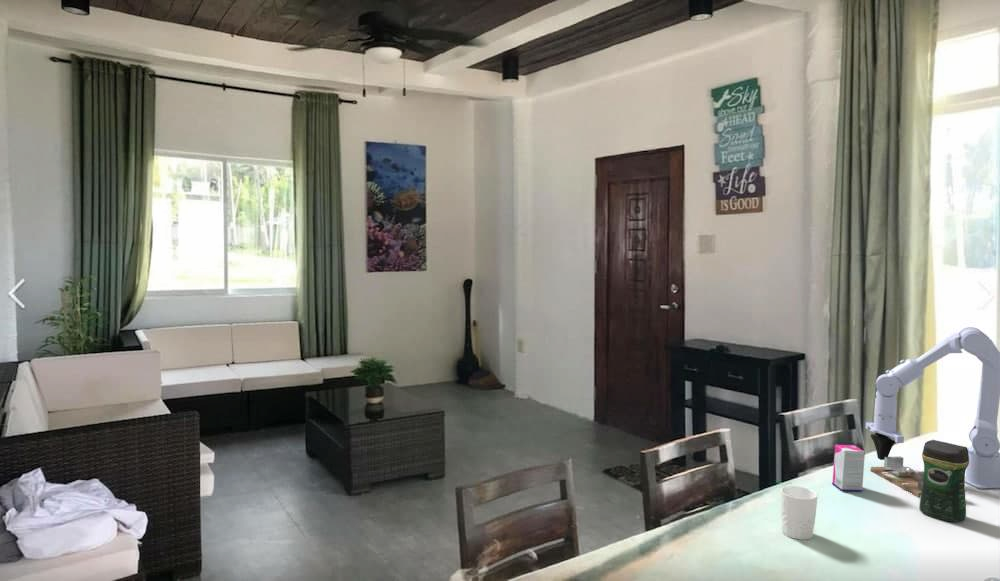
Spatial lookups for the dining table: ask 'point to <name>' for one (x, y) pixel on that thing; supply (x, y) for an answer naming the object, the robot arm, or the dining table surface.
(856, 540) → the dining table surface
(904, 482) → the gauge frame
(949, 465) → the coffee jar
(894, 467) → the brushed steel block
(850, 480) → the supplement box
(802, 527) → the white cup
